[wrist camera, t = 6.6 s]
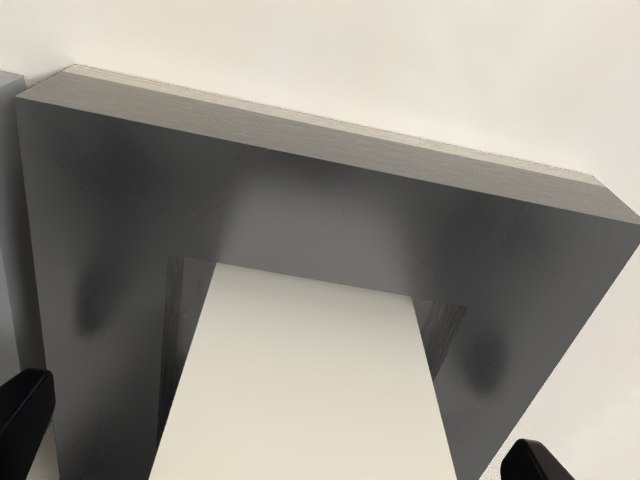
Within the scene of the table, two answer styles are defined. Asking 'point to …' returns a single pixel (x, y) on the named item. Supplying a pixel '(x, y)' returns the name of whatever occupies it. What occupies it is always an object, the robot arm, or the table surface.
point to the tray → (16, 249)
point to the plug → (303, 386)
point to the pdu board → (290, 251)
